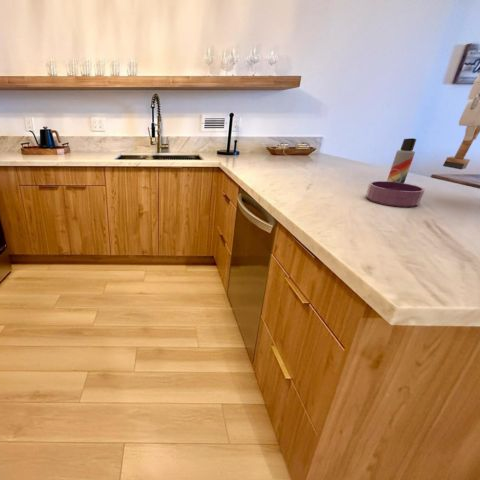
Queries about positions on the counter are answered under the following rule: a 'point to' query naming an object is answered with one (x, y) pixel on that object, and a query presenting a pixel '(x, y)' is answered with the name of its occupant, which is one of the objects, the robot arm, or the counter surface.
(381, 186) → the plum bowl
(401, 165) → the lotion bottle
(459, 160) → the dish brush
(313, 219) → the counter surface
